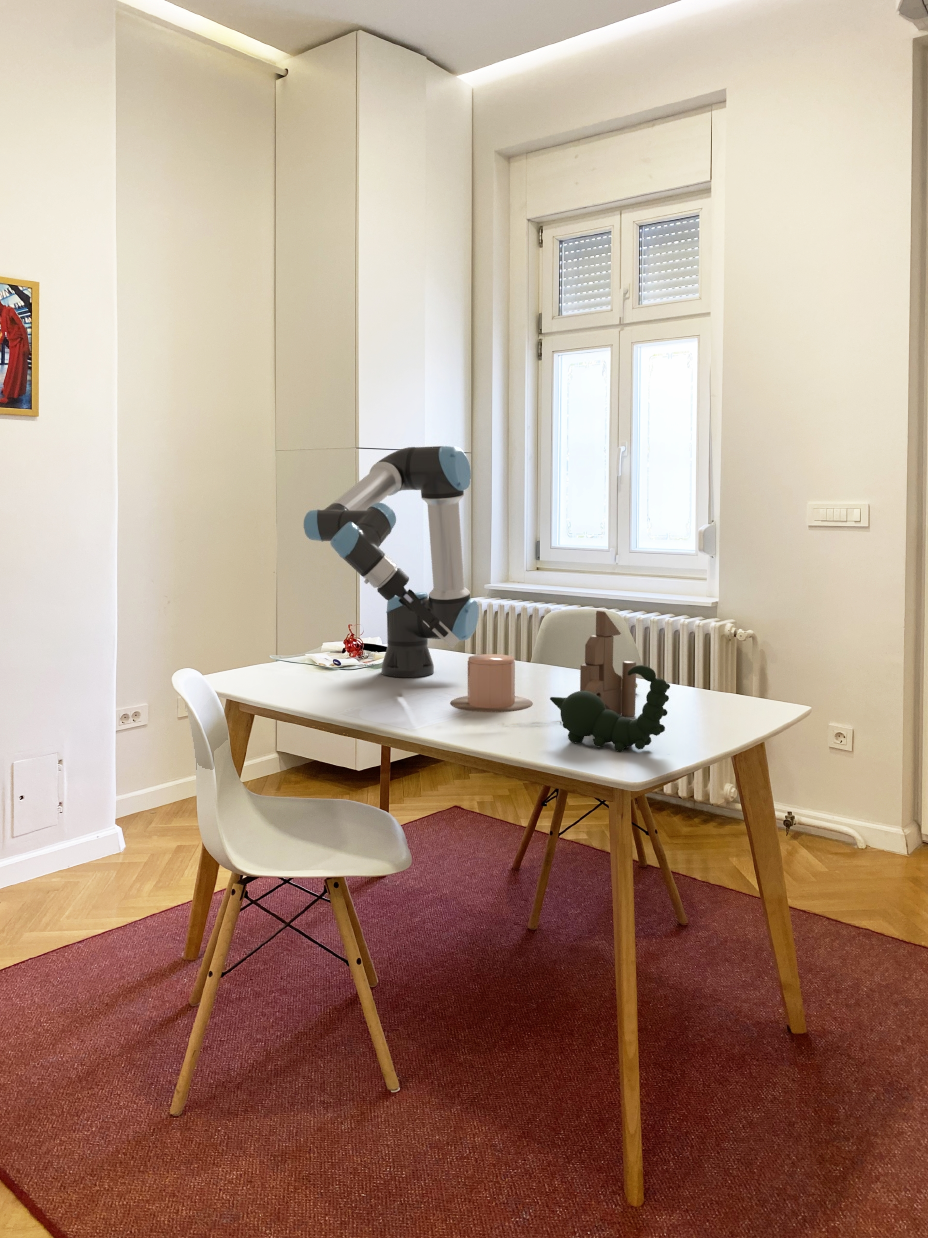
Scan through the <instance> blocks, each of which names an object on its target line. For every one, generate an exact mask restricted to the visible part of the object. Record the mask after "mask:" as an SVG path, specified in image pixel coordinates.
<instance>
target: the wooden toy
mask: <svg viewBox="0 0 928 1238" xmlns="http://www.w3.org/2000/svg"><path fill="white" fill-rule="evenodd" d="M621 634H622V633H621V631H620V630H619V629H618V628H617V626H616V624H614V621H612V619H611V618H610V617H609V615H608V614H607V613H606V611H605V610H604V611H602V610H596V613H595V635H590V636H589V638H588V640H587V641H586V643H585V645H584V664H581V665H580V668H579V669H580V671H579V672H580V673H579V674H580V677H579V682H580V683H579V691H589V692H592V693H594V694H596V695H597V696H598V697H600V698H601V700H602V701H603V702H604V704H605V707H606V709H609V710H612V711H614V712H616V713H617V714H618V715H619V716H620V715H621V716H622V717H626V718H631V717H635V716H636V699H637V698H636V696H637V695H636V692H637V690H636V689H637V688H636V683H637V674H632V675H630V676H629V675H628V671H629V670H630V669H631V668H632V667H634V666H637V662H636V661H634V660H624V661H622V663H621V664H622V670H621V671H622V672H621V675H620V674H618V673H617V672H616V671H615V668H614V636H620V635H621ZM621 687H622V688H621Z"/></svg>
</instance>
